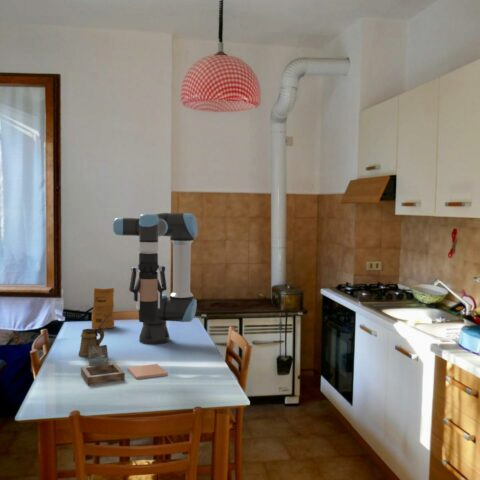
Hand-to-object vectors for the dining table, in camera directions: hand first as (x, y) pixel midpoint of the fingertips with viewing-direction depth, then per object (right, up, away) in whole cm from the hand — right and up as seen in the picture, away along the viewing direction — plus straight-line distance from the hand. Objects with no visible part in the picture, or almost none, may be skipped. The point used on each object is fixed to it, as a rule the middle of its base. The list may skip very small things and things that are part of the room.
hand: (147, 308), depth 216 cm
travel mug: (0, -5, 0) cm, 5 cm away
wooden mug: (-29, -25, +26) cm, 46 cm away
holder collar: (-17, -27, -6) cm, 32 cm away
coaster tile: (-1, -26, +2) cm, 27 cm away
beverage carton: (-23, -26, +11) cm, 36 cm away
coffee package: (-39, -21, +80) cm, 91 cm away
